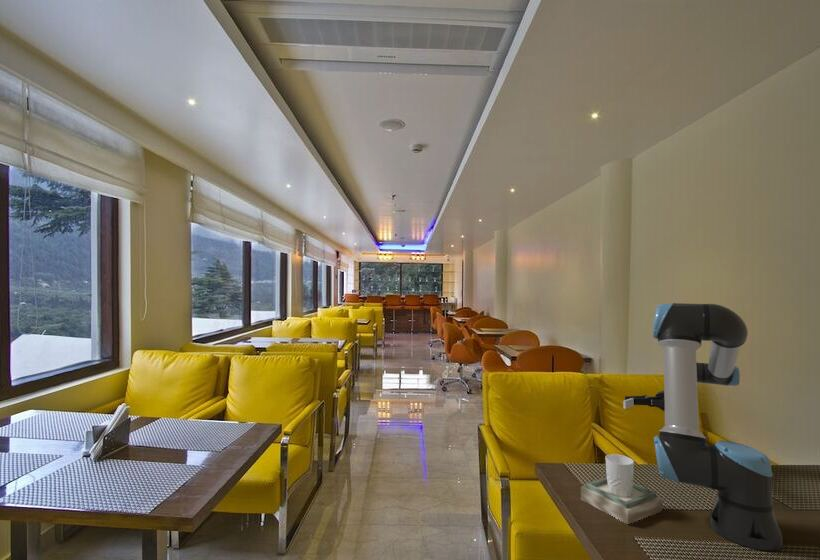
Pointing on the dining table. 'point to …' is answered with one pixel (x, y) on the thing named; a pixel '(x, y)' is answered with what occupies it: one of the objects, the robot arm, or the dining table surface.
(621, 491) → the white cup
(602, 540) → the dining table surface
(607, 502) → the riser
